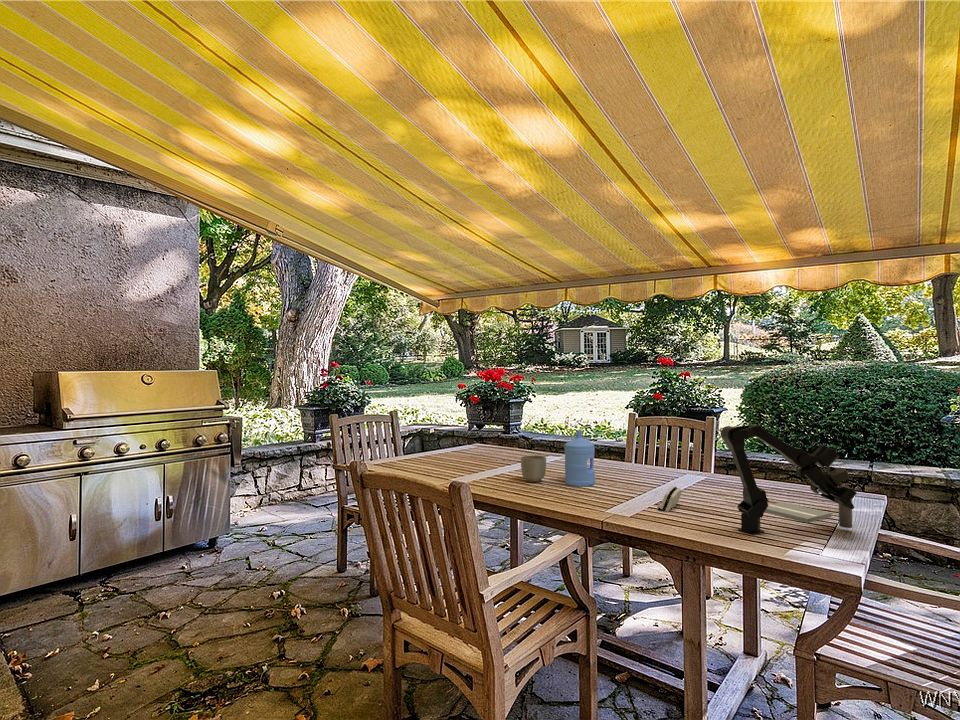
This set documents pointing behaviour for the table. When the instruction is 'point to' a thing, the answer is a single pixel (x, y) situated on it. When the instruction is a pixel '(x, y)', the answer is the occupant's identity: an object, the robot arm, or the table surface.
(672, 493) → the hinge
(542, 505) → the table surface
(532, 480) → the planter
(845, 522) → the bottle
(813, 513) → the board
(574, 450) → the water jug
